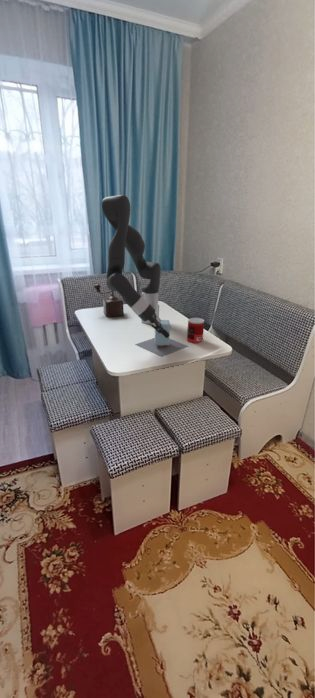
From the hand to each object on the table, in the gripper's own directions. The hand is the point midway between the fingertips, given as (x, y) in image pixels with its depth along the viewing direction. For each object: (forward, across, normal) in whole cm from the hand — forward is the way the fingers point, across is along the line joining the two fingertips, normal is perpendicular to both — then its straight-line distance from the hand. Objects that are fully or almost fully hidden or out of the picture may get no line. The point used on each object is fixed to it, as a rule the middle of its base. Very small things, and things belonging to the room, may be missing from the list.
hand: (167, 333), depth 148 cm
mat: (+3, 0, +6) cm, 7 cm away
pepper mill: (-18, +48, +27) cm, 58 cm away
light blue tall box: (+1, 0, +5) cm, 5 cm away
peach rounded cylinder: (+2, 0, +6) cm, 6 cm away
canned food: (+15, +7, -5) cm, 17 cm away
